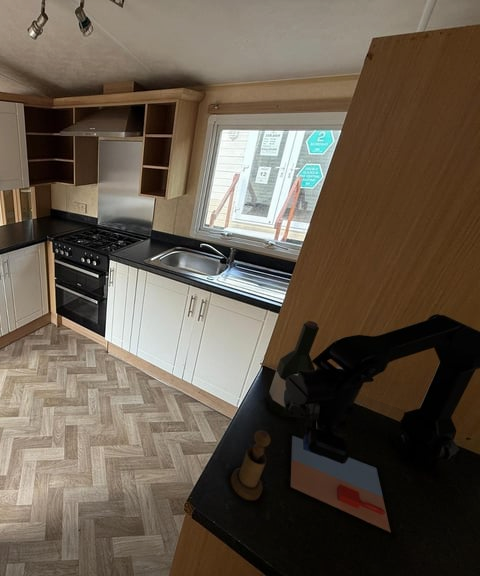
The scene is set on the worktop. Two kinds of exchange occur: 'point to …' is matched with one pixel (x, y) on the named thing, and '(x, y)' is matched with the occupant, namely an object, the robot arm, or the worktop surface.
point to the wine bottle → (292, 367)
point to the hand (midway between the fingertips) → (313, 445)
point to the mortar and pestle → (251, 469)
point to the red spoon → (355, 499)
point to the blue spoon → (306, 444)
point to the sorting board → (337, 482)
